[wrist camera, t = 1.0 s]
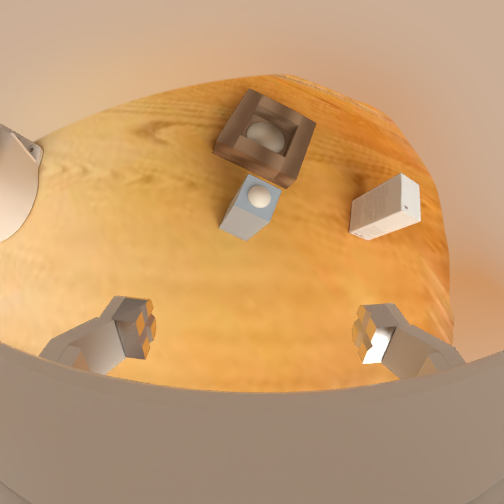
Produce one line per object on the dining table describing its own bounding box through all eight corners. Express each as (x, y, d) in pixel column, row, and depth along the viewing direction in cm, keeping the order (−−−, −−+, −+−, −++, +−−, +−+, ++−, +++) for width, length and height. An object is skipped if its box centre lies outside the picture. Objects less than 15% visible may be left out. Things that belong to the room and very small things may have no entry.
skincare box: (367, 241, 42) (421, 222, 31) (347, 233, 41) (401, 211, 30) (370, 208, 44) (420, 184, 33) (351, 199, 43) (400, 171, 32)
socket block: (212, 153, 37) (216, 140, 34) (243, 101, 41) (249, 88, 37) (286, 189, 40) (296, 179, 36) (306, 134, 43) (316, 123, 40)
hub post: (218, 228, 36) (234, 204, 27) (230, 202, 37) (249, 172, 28) (246, 241, 36) (270, 221, 28) (256, 215, 37) (282, 189, 29)
